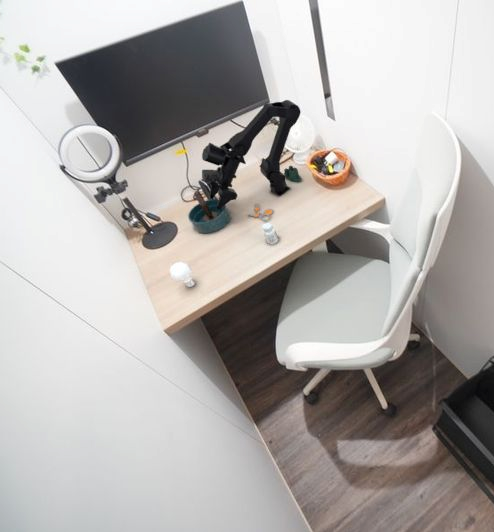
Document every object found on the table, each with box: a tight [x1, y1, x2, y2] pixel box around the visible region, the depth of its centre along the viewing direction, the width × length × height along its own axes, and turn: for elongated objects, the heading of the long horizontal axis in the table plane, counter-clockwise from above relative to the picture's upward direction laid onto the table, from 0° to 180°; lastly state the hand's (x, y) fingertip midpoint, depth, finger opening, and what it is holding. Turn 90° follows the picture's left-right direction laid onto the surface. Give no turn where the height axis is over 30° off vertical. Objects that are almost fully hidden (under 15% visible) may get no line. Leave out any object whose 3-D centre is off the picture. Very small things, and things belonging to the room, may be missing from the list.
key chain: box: [248, 203, 273, 222], centre depth 135 cm, size 13×7×1 cm, turn 54°
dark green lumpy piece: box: [283, 165, 303, 183], centre depth 149 cm, size 11×4×5 cm, turn 48°
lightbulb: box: [169, 261, 196, 288], centre depth 109 cm, size 6×6×11 cm
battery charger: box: [198, 178, 218, 200], centre depth 141 cm, size 7×4×11 cm, turn 49°
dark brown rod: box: [193, 190, 218, 222], centre depth 130 cm, size 6×6×15 cm
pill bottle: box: [262, 222, 279, 245], centre depth 121 cm, size 4×4×8 cm
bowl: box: [188, 198, 231, 234], centre depth 133 cm, size 15×15×6 cm
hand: (214, 203), depth 131 cm, fingers open, 9 cm apart
